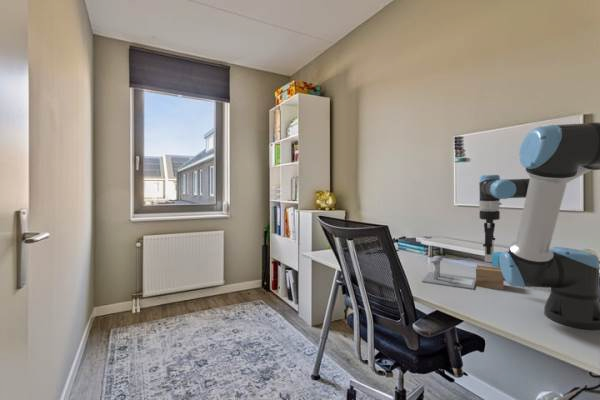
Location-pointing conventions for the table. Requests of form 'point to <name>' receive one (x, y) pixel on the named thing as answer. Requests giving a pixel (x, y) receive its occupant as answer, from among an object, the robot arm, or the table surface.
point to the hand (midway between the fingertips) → (489, 257)
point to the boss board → (448, 277)
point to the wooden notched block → (489, 277)
